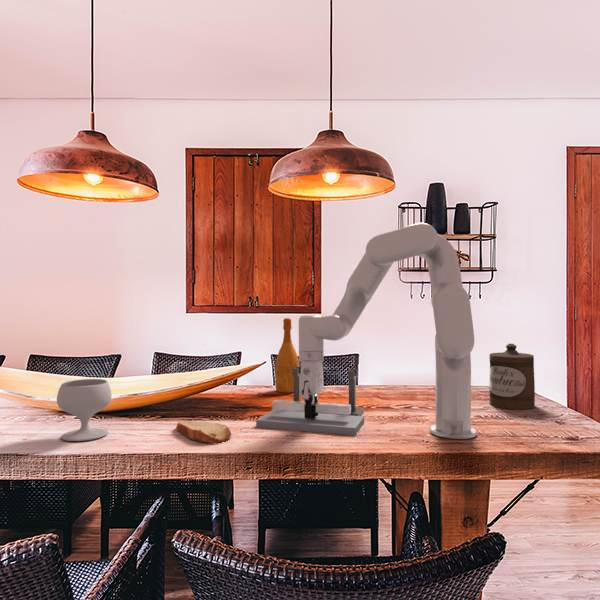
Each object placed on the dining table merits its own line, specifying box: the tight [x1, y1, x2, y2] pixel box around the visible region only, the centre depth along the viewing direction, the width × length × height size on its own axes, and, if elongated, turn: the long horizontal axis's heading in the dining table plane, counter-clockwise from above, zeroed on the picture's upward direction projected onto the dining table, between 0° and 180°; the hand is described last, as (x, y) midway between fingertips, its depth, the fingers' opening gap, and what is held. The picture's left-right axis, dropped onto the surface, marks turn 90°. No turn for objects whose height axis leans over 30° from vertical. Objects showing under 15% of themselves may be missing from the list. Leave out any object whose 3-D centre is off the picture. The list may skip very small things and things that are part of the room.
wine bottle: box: [274, 317, 300, 394], centre depth 200 cm, size 10×10×30 cm
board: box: [255, 409, 365, 436], centre depth 147 cm, size 14×30×2 cm, turn 73°
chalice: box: [56, 378, 112, 442], centre depth 136 cm, size 14×14×15 cm
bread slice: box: [175, 421, 232, 444], centre depth 137 cm, size 18×18×4 cm
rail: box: [271, 399, 351, 415], centre depth 147 cm, size 2×24×2 cm, turn 73°
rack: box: [283, 366, 365, 416], centre depth 163 cm, size 10×25×15 cm, turn 73°
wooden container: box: [488, 343, 536, 410], centre depth 174 cm, size 15×15×22 cm
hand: (311, 416), depth 147 cm, fingers closed on rail, 2 cm apart
